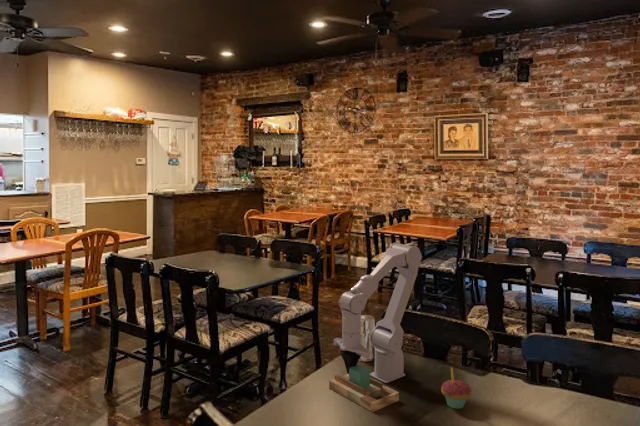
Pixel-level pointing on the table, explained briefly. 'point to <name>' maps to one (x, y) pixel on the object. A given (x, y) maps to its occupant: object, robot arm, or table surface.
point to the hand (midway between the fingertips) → (350, 373)
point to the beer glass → (367, 335)
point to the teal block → (359, 376)
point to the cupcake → (455, 392)
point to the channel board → (364, 392)
